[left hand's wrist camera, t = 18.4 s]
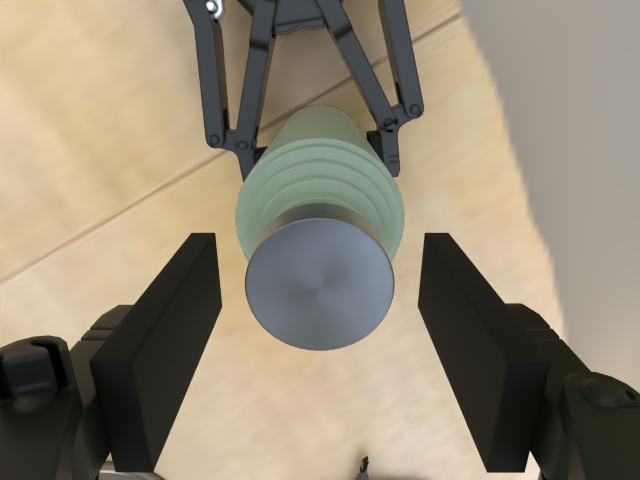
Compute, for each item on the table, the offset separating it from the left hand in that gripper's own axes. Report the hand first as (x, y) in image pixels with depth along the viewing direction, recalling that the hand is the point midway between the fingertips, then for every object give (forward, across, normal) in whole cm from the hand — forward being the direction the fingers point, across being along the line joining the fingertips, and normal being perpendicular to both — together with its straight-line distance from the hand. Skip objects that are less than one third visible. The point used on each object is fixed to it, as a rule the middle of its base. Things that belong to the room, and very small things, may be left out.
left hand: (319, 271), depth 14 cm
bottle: (+24, 0, 0) cm, 24 cm away
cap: (-1, 0, 0) cm, 1 cm away
